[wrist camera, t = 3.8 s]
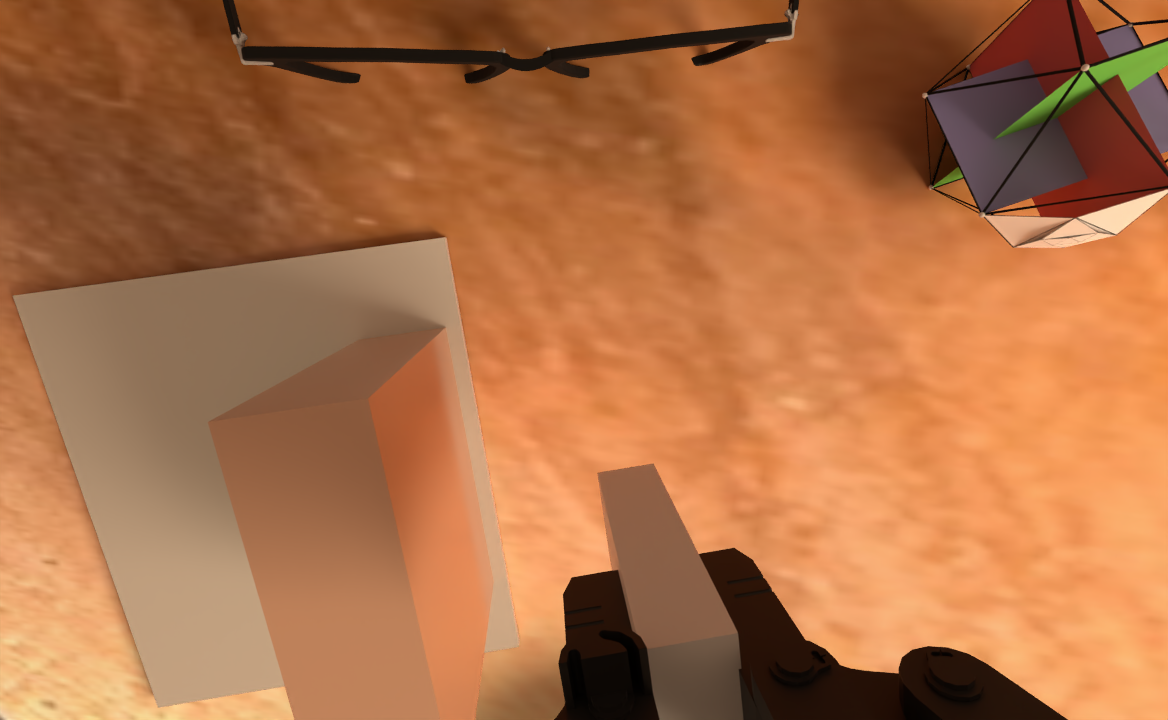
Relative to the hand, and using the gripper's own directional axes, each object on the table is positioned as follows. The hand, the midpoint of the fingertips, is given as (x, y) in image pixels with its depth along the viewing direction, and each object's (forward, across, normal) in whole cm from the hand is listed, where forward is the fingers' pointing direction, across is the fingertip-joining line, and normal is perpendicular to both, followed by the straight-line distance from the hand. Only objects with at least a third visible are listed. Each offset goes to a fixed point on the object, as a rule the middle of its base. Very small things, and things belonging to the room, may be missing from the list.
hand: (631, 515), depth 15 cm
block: (+6, -6, 0) cm, 9 cm away
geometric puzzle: (+7, +15, +9) cm, 18 cm away
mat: (+6, -12, 0) cm, 13 cm away
